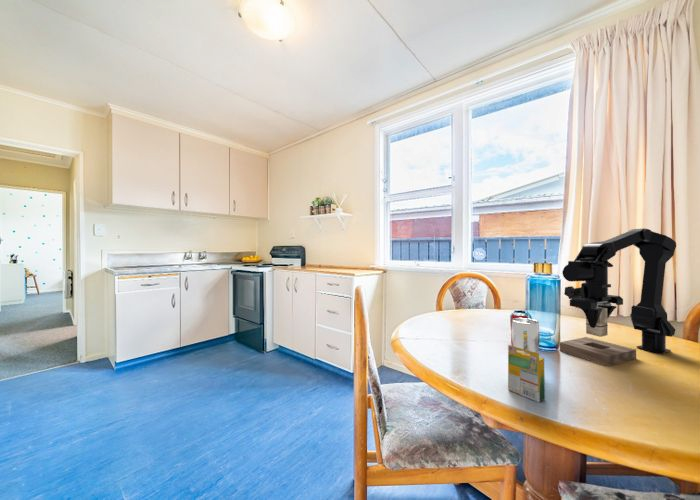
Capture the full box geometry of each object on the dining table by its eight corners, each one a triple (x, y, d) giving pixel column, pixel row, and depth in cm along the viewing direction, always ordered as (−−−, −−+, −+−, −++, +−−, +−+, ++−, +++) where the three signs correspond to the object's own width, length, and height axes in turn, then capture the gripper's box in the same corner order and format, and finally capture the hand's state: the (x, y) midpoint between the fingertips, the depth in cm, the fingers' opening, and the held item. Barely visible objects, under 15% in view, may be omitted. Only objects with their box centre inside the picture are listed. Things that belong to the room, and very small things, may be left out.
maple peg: (593, 331, 97) (593, 306, 97) (607, 335, 93) (607, 308, 93) (585, 333, 95) (585, 307, 95) (600, 336, 92) (600, 309, 92)
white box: (530, 379, 77) (530, 325, 77) (506, 369, 84) (506, 319, 83) (545, 373, 81) (544, 321, 80) (520, 364, 87) (520, 316, 87)
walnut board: (586, 344, 104) (586, 336, 104) (636, 358, 91) (636, 349, 91) (559, 350, 98) (559, 342, 98) (608, 366, 85) (608, 356, 85)
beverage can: (530, 349, 99) (530, 316, 99) (514, 349, 100) (514, 315, 100) (524, 344, 104) (524, 312, 104) (509, 344, 105) (508, 312, 105)
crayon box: (545, 399, 67) (545, 351, 67) (539, 403, 65) (539, 353, 65) (513, 386, 73) (513, 342, 73) (507, 390, 72) (507, 344, 71)
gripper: (586, 277, 105) (586, 318, 105) (552, 279, 98) (553, 323, 98) (623, 280, 95) (624, 326, 95) (589, 283, 88) (590, 332, 88)
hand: (596, 326), depth 94 cm, fingers closed on maple peg, 4 cm apart
